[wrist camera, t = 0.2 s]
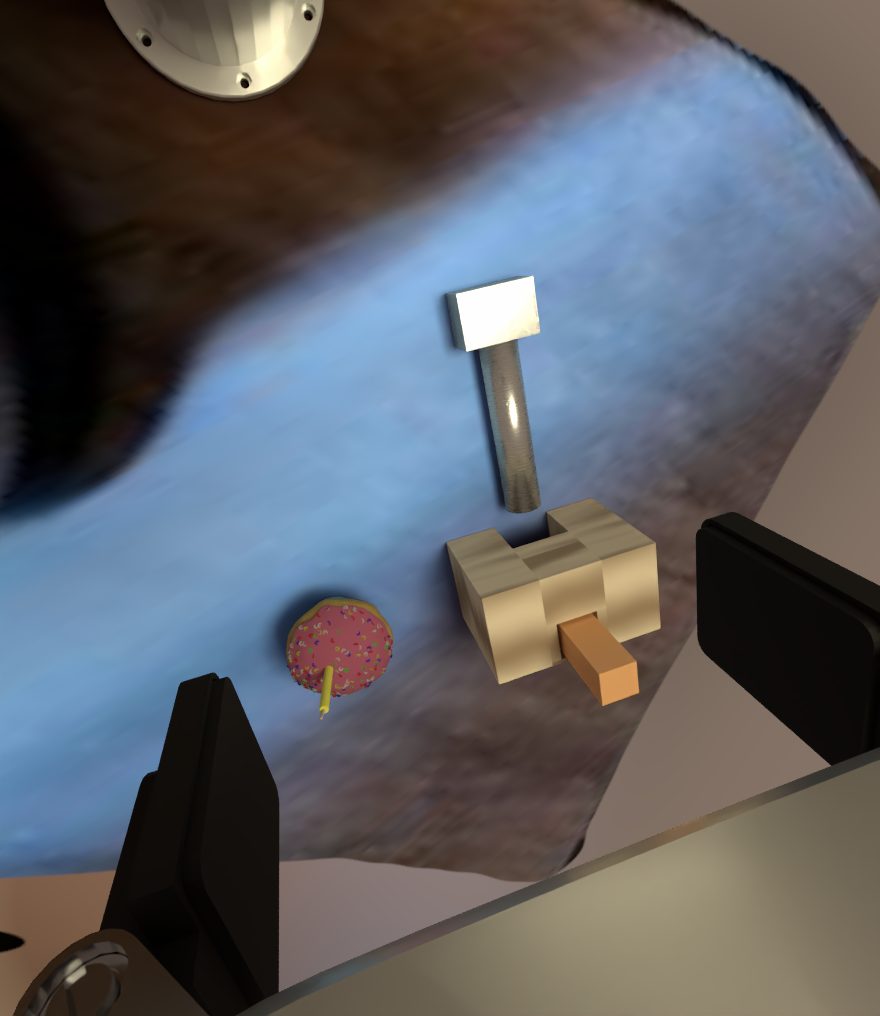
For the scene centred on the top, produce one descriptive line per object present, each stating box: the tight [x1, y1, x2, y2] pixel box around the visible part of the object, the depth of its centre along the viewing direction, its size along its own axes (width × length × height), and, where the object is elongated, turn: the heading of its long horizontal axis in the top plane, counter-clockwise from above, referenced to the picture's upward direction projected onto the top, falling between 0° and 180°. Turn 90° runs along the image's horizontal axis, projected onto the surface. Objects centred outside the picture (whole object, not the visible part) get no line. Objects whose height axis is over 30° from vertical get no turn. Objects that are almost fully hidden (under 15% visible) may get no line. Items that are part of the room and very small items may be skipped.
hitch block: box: [446, 498, 660, 684], centre depth 49 cm, size 8×14×10 cm, turn 102°
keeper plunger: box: [557, 613, 639, 706], centre depth 43 cm, size 3×3×7 cm
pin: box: [446, 276, 541, 513], centre depth 46 cm, size 18×6×3 cm, turn 12°
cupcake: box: [286, 596, 393, 720], centre depth 46 cm, size 9×8×12 cm
